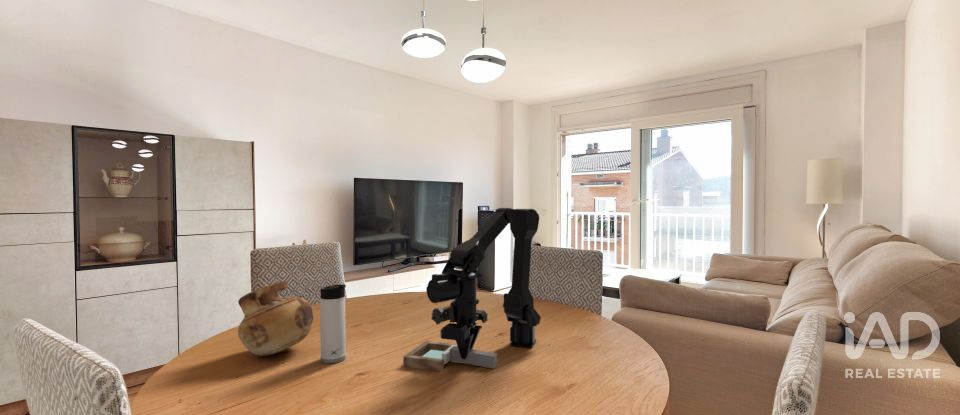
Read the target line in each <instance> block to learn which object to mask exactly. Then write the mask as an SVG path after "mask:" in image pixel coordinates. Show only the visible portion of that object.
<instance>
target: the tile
mask: <svg viewBox="0 0 960 415" xmlns="http://www.w3.org/2000/svg"><path fill="white" fill-rule="evenodd" d="M443 352H444V351H438V350H430V351H429V352H427V353H426V354H425V355H423V356H422V357H429V358H437V359H442V353H443ZM444 365H445V363H444Z"/></svg>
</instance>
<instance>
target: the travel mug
mask: <svg viewBox="0 0 960 415" xmlns="http://www.w3.org/2000/svg"><path fill="white" fill-rule="evenodd" d="M346 287H347V285H346V284H345V283H343V284H333V285H328V286H325V287H323V288H320V297H319V300H320V303H319V308H320V309H319V311H320V312H319V315H320V316H319V318H320V319H319V320H320V321H319V322H320V361H321V363H323V364H326V365H327V364H337V363H341V362H343V361H344V360H345V359H346V357H347V356H346V355H347V353H346V349H347V348H346V347H347V346H346V293H345V292H346Z"/></svg>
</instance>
